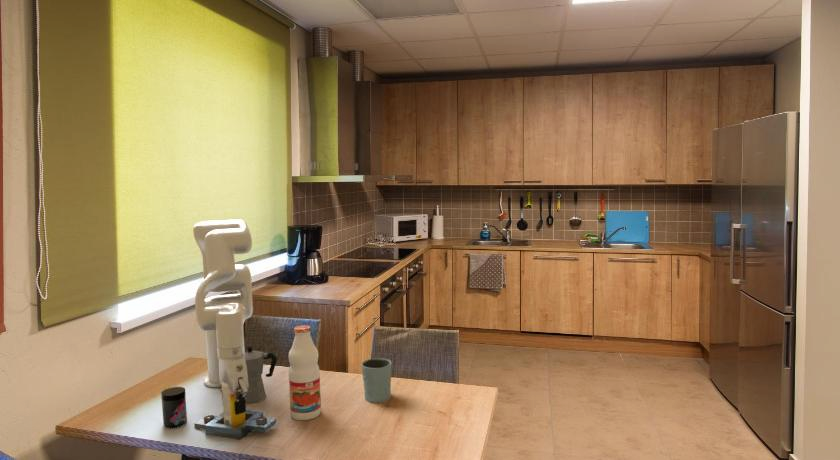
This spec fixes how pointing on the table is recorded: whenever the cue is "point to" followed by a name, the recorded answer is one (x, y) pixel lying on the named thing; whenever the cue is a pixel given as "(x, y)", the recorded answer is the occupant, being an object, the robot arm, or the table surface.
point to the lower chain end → (207, 419)
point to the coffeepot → (257, 374)
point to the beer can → (230, 407)
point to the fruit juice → (304, 376)
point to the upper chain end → (252, 424)
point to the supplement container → (174, 407)
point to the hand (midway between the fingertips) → (234, 408)
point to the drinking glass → (377, 379)
